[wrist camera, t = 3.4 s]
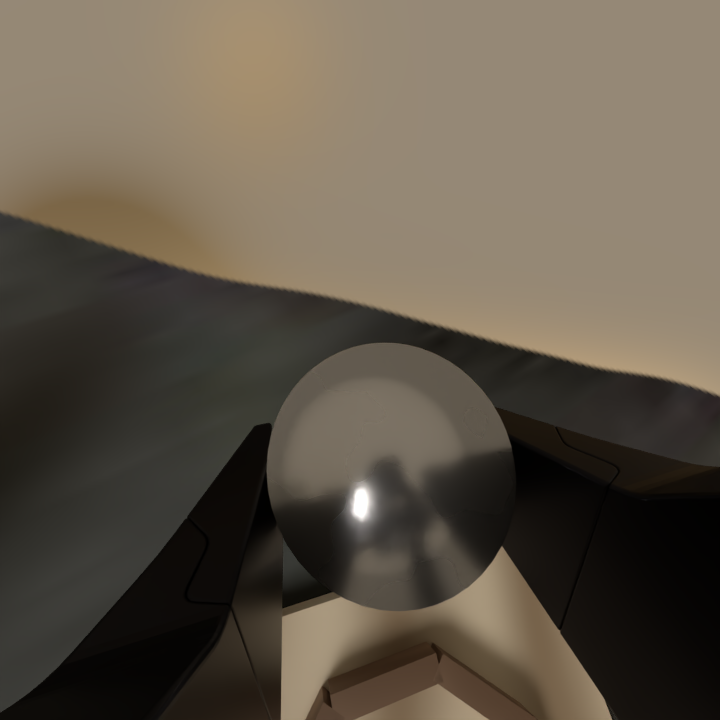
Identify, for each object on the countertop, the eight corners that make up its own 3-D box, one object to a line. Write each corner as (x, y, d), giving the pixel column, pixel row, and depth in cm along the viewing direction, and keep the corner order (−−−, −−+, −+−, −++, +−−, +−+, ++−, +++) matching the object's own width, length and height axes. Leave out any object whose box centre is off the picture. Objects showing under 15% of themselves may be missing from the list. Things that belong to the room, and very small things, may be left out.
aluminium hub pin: (385, 404, 17) (486, 292, 7) (420, 535, 15) (617, 600, 5) (261, 429, 15) (200, 329, 6) (281, 577, 13) (235, 760, 4)
